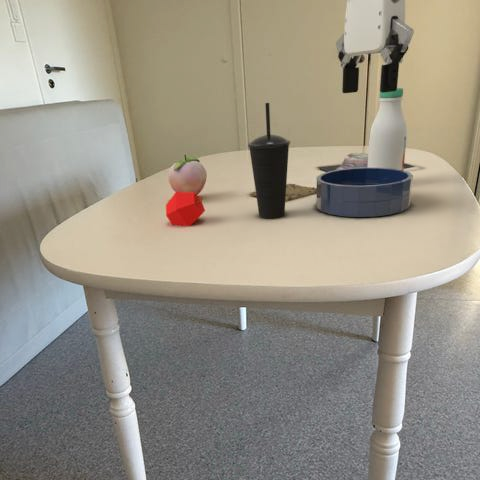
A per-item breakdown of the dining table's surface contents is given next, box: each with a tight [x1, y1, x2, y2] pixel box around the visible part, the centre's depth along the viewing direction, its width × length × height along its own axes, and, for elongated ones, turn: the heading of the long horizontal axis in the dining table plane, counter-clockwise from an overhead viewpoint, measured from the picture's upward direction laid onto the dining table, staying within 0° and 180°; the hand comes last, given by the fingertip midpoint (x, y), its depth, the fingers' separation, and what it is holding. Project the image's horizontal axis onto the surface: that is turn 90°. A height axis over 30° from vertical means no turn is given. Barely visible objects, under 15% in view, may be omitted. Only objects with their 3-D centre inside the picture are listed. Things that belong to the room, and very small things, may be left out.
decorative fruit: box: [167, 154, 208, 196], centre depth 102 cm, size 9×8×10 cm
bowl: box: [316, 167, 414, 218], centre depth 86 cm, size 18×18×6 cm
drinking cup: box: [247, 102, 291, 220], centre depth 81 cm, size 8×8×20 cm
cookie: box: [249, 183, 317, 203], centre depth 102 cm, size 12×12×1 cm
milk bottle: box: [367, 87, 408, 171], centre depth 97 cm, size 8×8×20 cm
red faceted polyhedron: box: [165, 192, 206, 227], centre depth 85 cm, size 7×7×8 cm
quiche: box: [317, 152, 416, 172], centre depth 120 cm, size 21×20×4 cm
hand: (368, 92), depth 78 cm, fingers open, 9 cm apart
